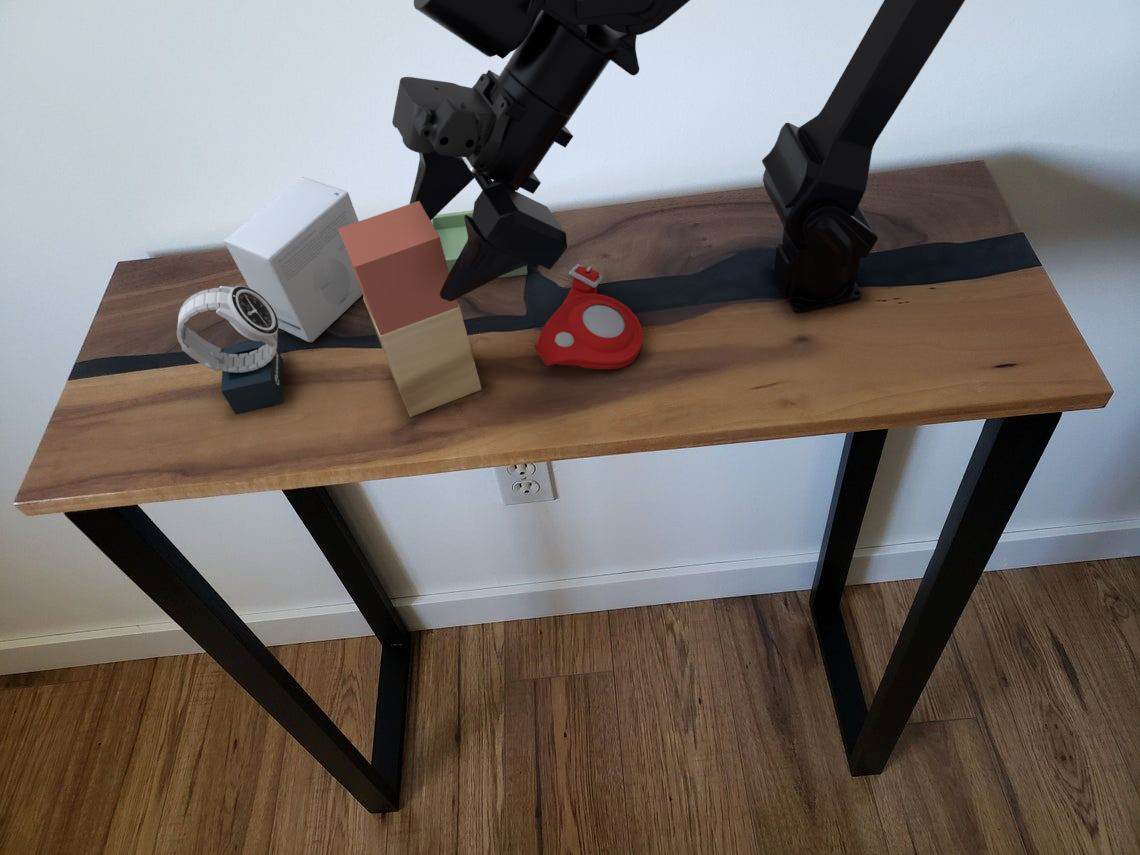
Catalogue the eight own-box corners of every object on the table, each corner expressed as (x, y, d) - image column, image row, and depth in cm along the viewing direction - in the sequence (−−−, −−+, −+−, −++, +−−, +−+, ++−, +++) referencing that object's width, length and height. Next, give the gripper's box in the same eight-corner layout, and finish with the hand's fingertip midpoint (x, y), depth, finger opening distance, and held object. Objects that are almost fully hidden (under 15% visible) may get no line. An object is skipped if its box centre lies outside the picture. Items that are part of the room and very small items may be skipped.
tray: (525, 228, 90) (521, 204, 88) (527, 274, 85) (523, 250, 83) (434, 238, 90) (428, 215, 88) (432, 285, 86) (425, 262, 83)
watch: (304, 398, 78) (259, 309, 69) (215, 418, 77) (158, 331, 69) (303, 354, 81) (260, 264, 73) (218, 373, 81) (164, 285, 72)
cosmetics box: (335, 259, 90) (301, 173, 82) (382, 278, 87) (351, 191, 79) (263, 322, 85) (219, 238, 76) (311, 345, 82) (270, 259, 74)
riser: (482, 389, 76) (460, 307, 69) (410, 417, 75) (379, 336, 67) (462, 352, 80) (439, 269, 72) (393, 378, 78) (362, 296, 71)
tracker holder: (668, 339, 76) (575, 372, 72) (652, 370, 80) (563, 403, 75) (596, 245, 81) (504, 270, 76) (584, 277, 85) (496, 303, 80)
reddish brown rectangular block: (458, 306, 69) (439, 236, 63) (380, 335, 67) (354, 266, 62) (438, 270, 72) (419, 200, 66) (363, 297, 70) (337, 228, 65)
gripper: (405, -21, 61) (305, 162, 68) (498, 102, 50) (368, 307, 56) (523, 54, 69) (423, 212, 75) (626, 175, 58) (498, 349, 64)
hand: (426, 263), depth 68 cm, fingers open, 9 cm apart
